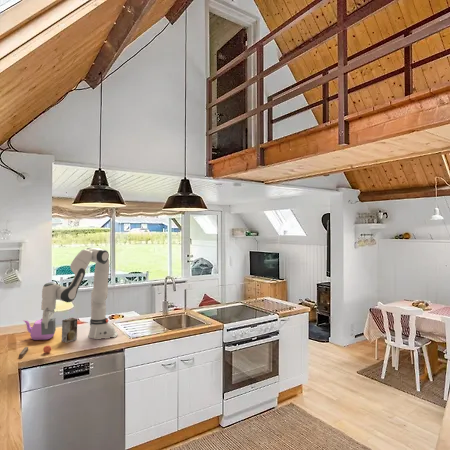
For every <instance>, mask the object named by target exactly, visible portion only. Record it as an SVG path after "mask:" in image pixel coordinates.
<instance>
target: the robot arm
mask: <svg viewBox="0 0 450 450" xmlns="http://www.w3.org/2000/svg"><path fill="white" fill-rule="evenodd" d="M109 255H110V254H109V252H108V250H106V249H103V248H98V247H97V248H96V247H87V248H83V249H81V250H80V251H79V252H78V253H77V254H76V255H75V257H74V258H73V260H72V261H71V263H70V265H69V266H70V270H71V272H72V273H73V274H74V277H73V279H72V281H71V283H70V285H69V286H63V285H59V284H57V283H55V282H47V283H45V284H44V285H42V290H41V309H40V310H42V317H41V319H42V323H43V324H44V325H45V329H47V328H48V322H49V321H50V320H51V319H52V318H54V315H55V309H57V308H56V307H57V304H56V303H57V300H58V301H62V302H65V303H71V302H73V301H74V300H75V298H76V297H77V294H78V291H79V289H80V286H81V284H82V283H83V280H84V278H85V275H86V269H87V268H88V266H89V265H90V263H95V266H94V271H93V273H94V274H93V287H92V289H91V292H90V293H91V294H90V295H91V296H90V299H91V300H90V302H91V303H90V304H91V305H90V307H91V310H90V319H89V326H90V328H89V330H88V331H89V332H88V335H87V337H88V338H89V339H93V340H102V339H101V338H105V339H111V338H110V337H114V338H116V337H118V332H117V331H116V330H115V327H114V325H112V324H111V323H110V322H109V319H108V318H107V317H106V312H107V307H106V306H107V305H106V301H107V298H108V295H109V294H108V293H109V275H110V256H109Z"/></svg>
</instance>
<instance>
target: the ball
mask: <svg viewBox="0 0 450 450" xmlns="http://www.w3.org/2000/svg"><path fill="white" fill-rule="evenodd" d="M42 351H43V352H44V353H45V354H48V353H49V354H50V353H51V351H52V346H51V345H49V344H48V345H45V346H44V347H43V349H42Z"/></svg>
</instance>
